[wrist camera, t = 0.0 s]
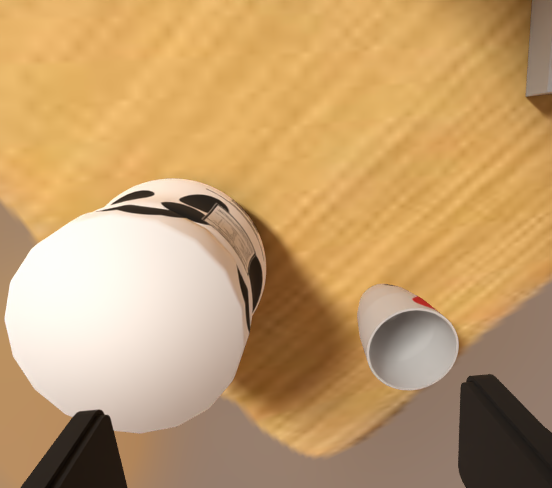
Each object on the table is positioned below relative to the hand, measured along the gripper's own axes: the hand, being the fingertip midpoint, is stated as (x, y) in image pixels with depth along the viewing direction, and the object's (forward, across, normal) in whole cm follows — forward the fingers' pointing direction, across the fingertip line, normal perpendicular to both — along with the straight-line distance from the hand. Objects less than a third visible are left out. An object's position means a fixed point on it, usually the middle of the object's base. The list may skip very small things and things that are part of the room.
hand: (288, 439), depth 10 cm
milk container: (+32, +10, +3) cm, 33 cm away
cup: (+31, -11, +11) cm, 35 cm away
